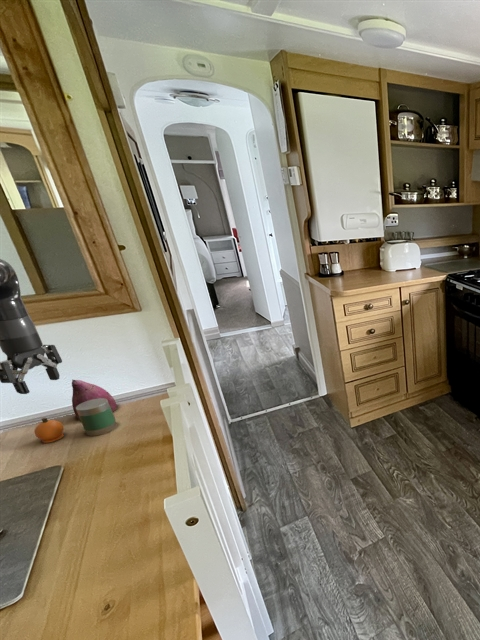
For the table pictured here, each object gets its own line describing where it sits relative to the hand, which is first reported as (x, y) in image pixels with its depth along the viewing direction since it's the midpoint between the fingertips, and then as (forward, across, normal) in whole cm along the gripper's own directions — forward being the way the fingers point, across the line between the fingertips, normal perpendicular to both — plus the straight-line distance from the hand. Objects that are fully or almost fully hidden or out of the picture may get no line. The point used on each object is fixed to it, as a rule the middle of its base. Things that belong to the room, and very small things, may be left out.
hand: (40, 386), depth 108 cm
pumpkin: (+16, +2, 0) cm, 16 cm away
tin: (+16, -2, +10) cm, 19 cm away
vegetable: (+16, -12, 0) cm, 20 cm away
